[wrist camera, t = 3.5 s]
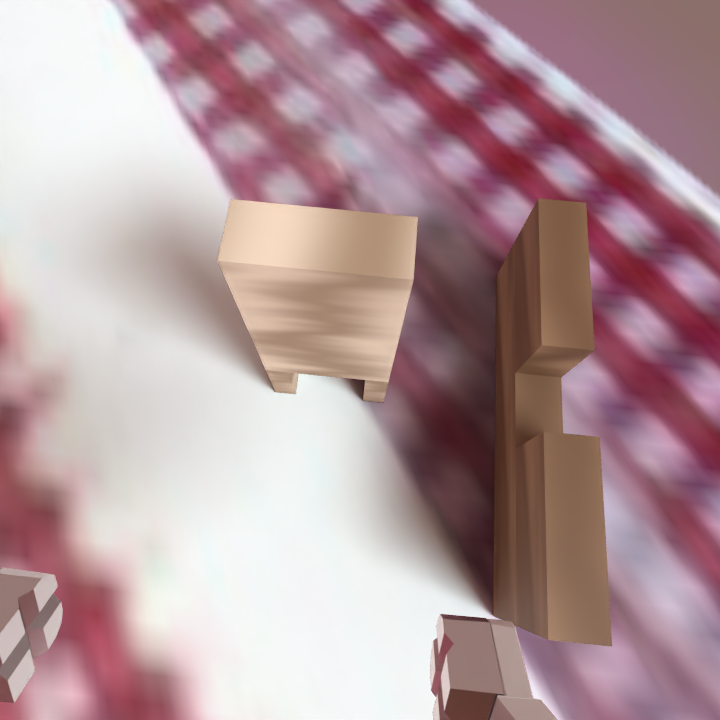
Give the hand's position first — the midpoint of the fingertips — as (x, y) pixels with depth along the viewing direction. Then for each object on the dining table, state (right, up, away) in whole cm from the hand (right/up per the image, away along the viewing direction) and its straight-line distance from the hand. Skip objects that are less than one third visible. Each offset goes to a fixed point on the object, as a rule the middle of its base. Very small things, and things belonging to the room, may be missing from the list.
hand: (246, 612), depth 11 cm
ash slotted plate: (+1, +4, +20) cm, 21 cm away
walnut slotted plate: (+11, +1, +20) cm, 23 cm away
